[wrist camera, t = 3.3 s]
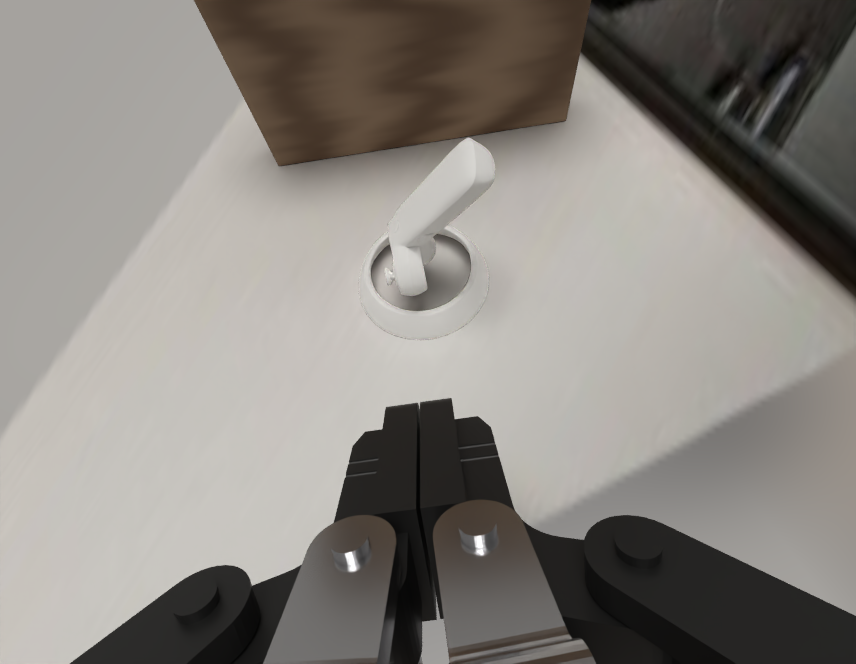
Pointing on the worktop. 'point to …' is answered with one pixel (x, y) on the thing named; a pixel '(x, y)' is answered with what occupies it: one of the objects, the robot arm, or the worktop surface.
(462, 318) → the white lever switch
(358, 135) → the wall board
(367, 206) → the worktop surface
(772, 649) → the robot arm
